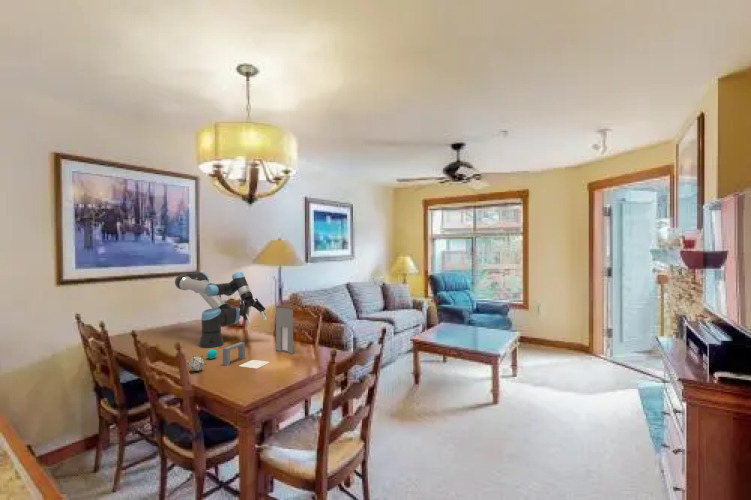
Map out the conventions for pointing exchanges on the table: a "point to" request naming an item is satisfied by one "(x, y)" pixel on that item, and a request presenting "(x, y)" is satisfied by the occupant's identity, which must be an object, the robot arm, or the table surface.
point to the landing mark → (254, 364)
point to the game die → (196, 363)
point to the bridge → (227, 350)
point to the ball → (211, 353)
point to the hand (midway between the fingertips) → (257, 322)
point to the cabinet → (284, 328)
